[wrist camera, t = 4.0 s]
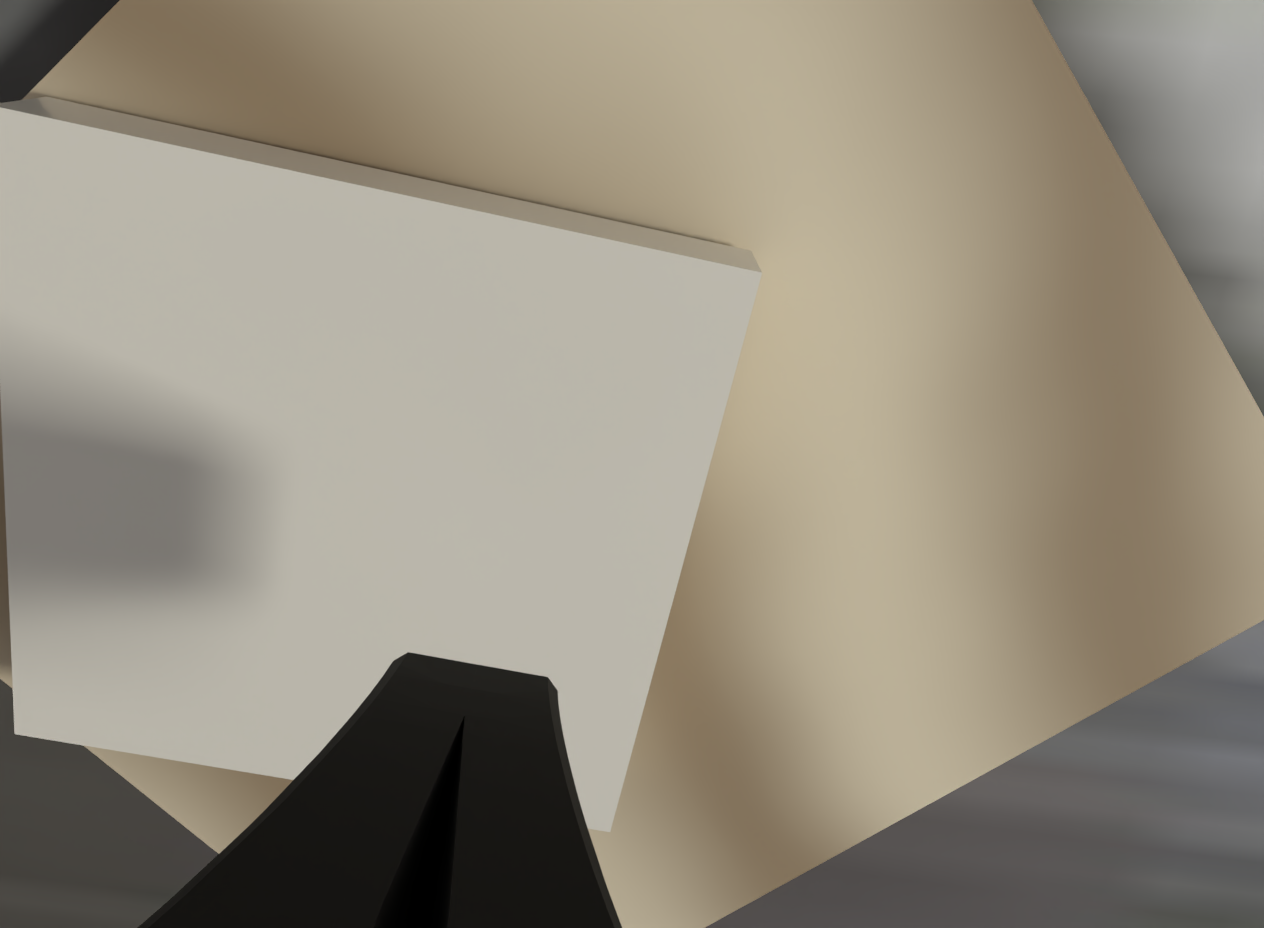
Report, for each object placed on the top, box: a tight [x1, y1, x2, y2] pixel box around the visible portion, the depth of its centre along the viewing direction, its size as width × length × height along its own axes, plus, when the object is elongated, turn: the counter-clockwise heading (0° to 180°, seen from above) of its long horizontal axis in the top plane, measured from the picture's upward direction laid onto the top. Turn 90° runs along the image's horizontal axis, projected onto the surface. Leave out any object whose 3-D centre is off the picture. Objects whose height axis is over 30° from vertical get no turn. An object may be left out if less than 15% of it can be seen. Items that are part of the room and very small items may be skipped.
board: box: [0, 0, 1264, 928], centre depth 14 cm, size 16×15×1 cm
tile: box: [0, 97, 762, 832], centre depth 13 cm, size 8×1×8 cm
